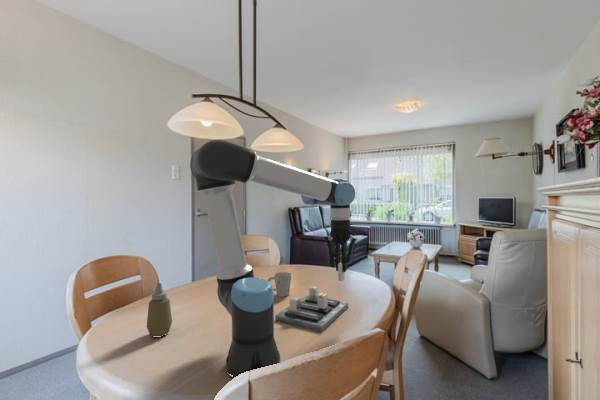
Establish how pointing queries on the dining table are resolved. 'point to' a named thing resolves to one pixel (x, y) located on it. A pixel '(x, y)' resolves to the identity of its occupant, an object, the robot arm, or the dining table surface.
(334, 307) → the panel
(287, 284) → the mug
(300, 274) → the dining table surface
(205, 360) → the dining table surface
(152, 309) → the squeeze bottle
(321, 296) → the block
